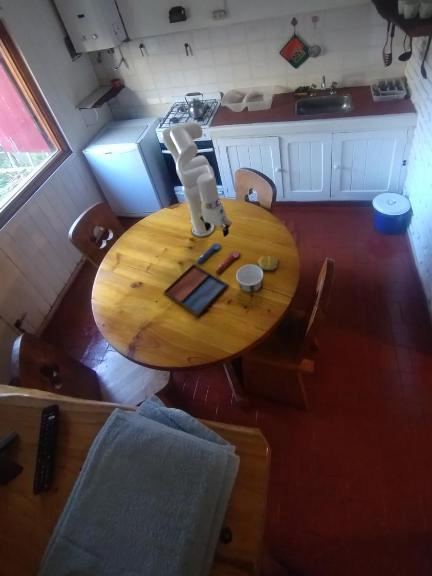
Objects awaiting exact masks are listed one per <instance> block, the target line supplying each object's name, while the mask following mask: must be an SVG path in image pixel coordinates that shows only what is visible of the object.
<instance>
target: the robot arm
mask: <svg viewBox="0 0 432 576" xmlns="http://www.w3.org/2000/svg"><path fill="white" fill-rule="evenodd" d="M202 137H203V128H202V126H201V124H200V123H199V121H197V120H195V119H193V120H189V121H185V122H182V123H179V124H175V125H172V126H169V127H166V128H165V129H163V130H162V131H161V132H160V138H161V140H162V143H163V144H164V146H165V147H166V149H167V150H168V151H169V153H170V155H171V156H172V158H173V160H174V163H175V171H176V174H177V176H178V179H179V180H180V184H181V185H182V188H181V189H182V194H183V197H184V199H185V200H186V204H187V206H188V211H189V213H190V221H189V223H190V224H192V226H191V232H192V234H193V235H194V236H196V237H206V236H209V235H211V234H212V233H213V232H214V231H215V226H217V227H220V228H221V229H222V235H223V237H224V238H226V237H227V236H229V233H230V232H229V228H230V227H231V225H232V223H233V222H232V221H231V220H230V219H229V218H228V216H227V213H226V210H225V207H224V205H223V203H222V201H221V200H220V195H219V191H218V190H219V189H218V186H217V180H216V177H215V171H214V168H213V167H212V166H211V165H210V163H209V161H208V159H207V157H206V156H205V155H197V154H198V152H199V150H198V146H197V144H196V142H195V140H198V139H201V138H202Z"/></svg>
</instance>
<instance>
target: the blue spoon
mask: <svg viewBox="0 0 432 576" xmlns="http://www.w3.org/2000/svg"><path fill="white" fill-rule="evenodd" d="M220 250H221V244H219V243H213V244H212V245H211V247H209V249H208V250H206V251H205V252H204V253H203V254H201V256H200V257H199V258H198V259H197V260H196V264H197V265H201V264H202V263H203V262H205V260H206V259H208V258H209V257H210V256H211V255H212V254H213V253H214V252H218V251H220Z"/></svg>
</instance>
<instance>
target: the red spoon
mask: <svg viewBox="0 0 432 576" xmlns="http://www.w3.org/2000/svg"><path fill="white" fill-rule="evenodd" d="M239 258H240V253H239V252H238V251H235V250H234V251H232V252H230V255H229V256H228V257H227V258H226V259H225V260H224V261H223V262H222V263H221V264H220V265H219V266H218V267H217V268H215V273H217V274H221V273H222V272H223V270H225V269H226V267H228V266H229V265H230V263H232V262H233V261H234V260H237V259H239Z"/></svg>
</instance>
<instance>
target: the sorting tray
mask: <svg viewBox="0 0 432 576" xmlns="http://www.w3.org/2000/svg"><path fill="white" fill-rule="evenodd" d="M228 287H229V285H228V283H227V282H225V281H223V280H221V279H220V278H218V277H216V276H215V275H213V274H211V273H210V272H208V271H206V270H204V269H203V268H201V267H200V266H197V265H196V264H194V263H193V264H192V265H191V266H190V267H188V268H187V269H186V270H185V271H184V272H183V273H182V274H181V275H180V276H179V277H177V279H176V280H174V282H172V283H171V284H170V285H169V286H168V287H167V288H166V289H164V291H163V292H164V294H165V295H166V296H167V297H169V298H170V299H172V300H173V301H174V302H176V303H178V304H179V305H180V306H181V307H183V308H185V309H186V310H187V311H189V312H190V313H192V314H193V315H194V316H196V317H197V318H200V317H201V315H203V313H204V312H205V311H206V310H207V309H208V308H209V307H210V306H211V305H212V304H213V303H214V302H215V301H216V300H217V299H218V298H219V296H221V295H222V293H223V292H224V291H225V290H226V289H227V288H228Z"/></svg>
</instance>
